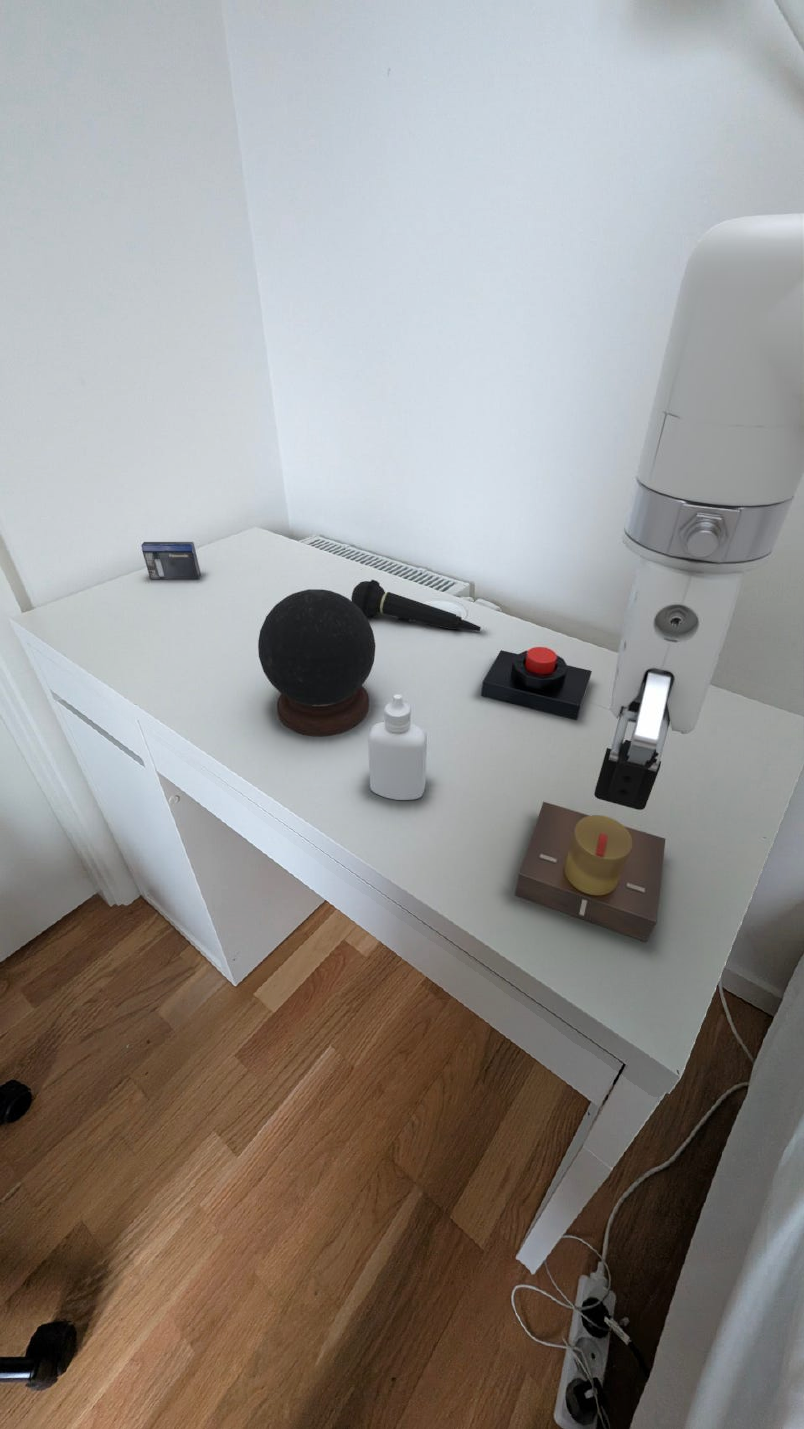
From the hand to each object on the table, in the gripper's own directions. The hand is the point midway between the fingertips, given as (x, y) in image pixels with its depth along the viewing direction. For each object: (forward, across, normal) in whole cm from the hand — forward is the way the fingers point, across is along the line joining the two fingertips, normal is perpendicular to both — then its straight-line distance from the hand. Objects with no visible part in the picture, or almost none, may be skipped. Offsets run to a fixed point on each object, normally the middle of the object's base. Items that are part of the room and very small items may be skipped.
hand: (626, 755), depth 42 cm
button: (+12, +27, +11) cm, 31 cm away
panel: (+16, +1, 0) cm, 16 cm away
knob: (+12, -1, 0) cm, 13 cm away
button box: (+15, +27, +11) cm, 33 cm away
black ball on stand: (+15, +13, +34) cm, 39 cm away
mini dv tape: (+15, +35, +75) cm, 84 cm away
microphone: (+15, +36, +32) cm, 50 cm away
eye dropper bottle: (+15, +4, +20) cm, 26 cm away
